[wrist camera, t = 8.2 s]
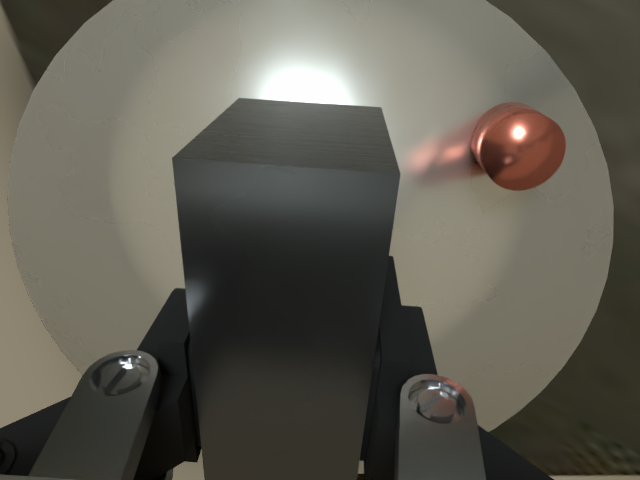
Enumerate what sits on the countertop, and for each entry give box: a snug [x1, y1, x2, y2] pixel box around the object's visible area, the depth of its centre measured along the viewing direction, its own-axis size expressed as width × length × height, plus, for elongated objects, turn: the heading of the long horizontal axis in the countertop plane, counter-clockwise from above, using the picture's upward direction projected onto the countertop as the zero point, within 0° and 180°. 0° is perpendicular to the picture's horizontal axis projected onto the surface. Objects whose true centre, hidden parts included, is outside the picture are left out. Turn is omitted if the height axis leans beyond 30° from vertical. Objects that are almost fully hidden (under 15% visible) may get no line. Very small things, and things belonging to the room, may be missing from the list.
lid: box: [7, 0, 613, 480], centre depth 11 cm, size 16×16×6 cm
